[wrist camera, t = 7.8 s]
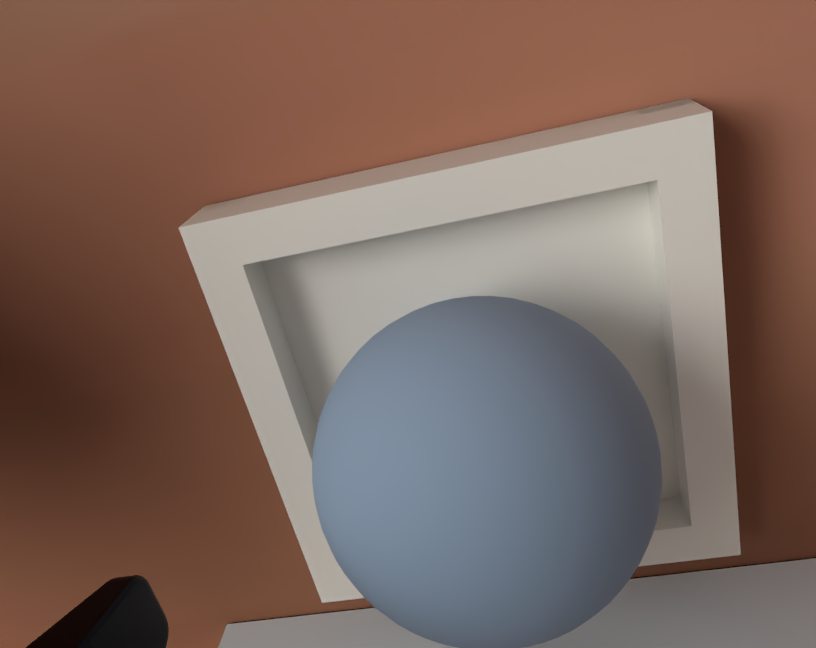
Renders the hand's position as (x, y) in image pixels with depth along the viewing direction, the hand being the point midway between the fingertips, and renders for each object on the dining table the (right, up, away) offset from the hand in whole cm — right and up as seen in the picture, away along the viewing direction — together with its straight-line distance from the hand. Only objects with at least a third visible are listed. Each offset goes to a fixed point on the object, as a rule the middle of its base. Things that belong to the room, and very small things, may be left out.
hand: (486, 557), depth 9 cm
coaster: (0, +2, +4) cm, 5 cm away
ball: (0, +2, +4) cm, 5 cm away
